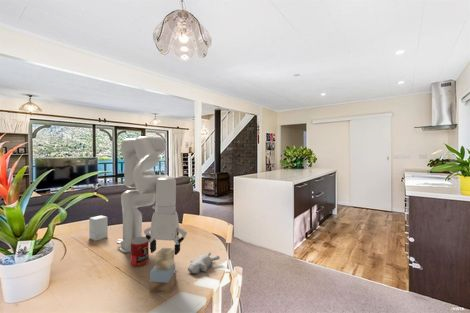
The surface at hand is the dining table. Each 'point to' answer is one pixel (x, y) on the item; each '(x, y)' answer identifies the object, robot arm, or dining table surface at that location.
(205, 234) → the dining table surface
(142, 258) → the canned food
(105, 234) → the supplement box
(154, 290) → the tower base block
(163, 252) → the maple block
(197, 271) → the white figure shaped piece
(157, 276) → the tower top block
